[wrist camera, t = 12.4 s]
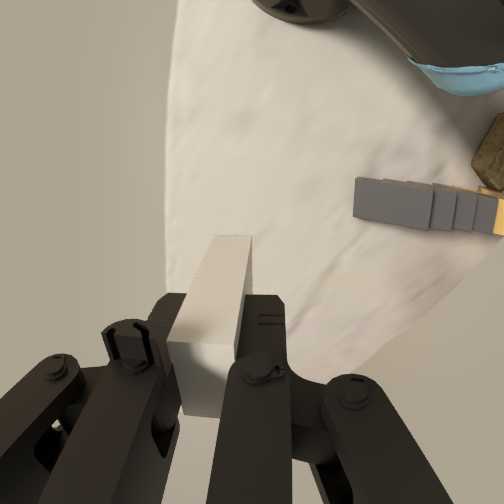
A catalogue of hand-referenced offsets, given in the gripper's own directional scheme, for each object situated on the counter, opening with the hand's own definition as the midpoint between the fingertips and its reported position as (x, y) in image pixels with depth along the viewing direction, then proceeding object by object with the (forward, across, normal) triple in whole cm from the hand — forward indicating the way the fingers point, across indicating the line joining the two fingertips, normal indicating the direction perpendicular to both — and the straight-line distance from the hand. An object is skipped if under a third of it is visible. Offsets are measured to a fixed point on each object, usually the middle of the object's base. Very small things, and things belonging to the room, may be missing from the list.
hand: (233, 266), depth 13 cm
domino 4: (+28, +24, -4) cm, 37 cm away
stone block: (+29, +35, +6) cm, 46 cm away
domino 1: (+28, +12, -4) cm, 31 cm away
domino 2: (+28, +16, -4) cm, 32 cm away
